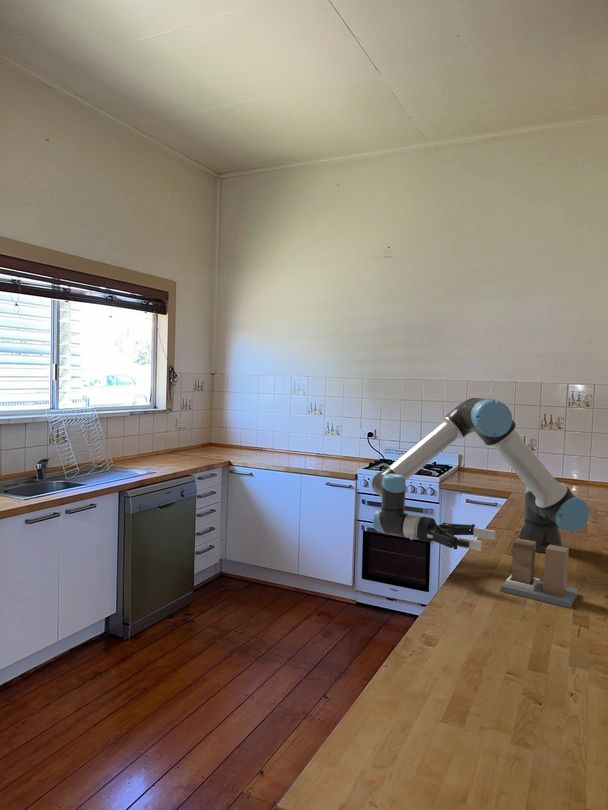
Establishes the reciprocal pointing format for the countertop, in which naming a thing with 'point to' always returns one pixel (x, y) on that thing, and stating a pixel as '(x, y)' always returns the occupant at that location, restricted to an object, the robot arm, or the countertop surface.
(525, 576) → the pillar
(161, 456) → the countertop surface
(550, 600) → the baseplate
